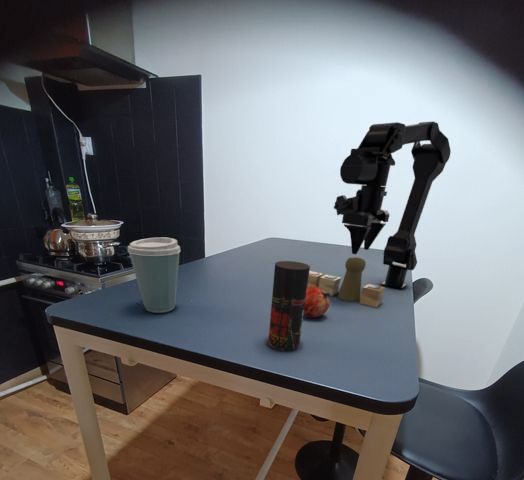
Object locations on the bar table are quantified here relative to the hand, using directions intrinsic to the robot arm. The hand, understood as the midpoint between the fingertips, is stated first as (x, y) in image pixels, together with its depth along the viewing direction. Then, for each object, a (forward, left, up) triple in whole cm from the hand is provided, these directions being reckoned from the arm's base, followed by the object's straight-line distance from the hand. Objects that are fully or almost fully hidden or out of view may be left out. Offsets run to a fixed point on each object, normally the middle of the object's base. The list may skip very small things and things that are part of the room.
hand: (360, 251), depth 84 cm
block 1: (+2, -12, -13) cm, 17 cm away
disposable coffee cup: (+43, -30, -13) cm, 54 cm away
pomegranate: (+22, -2, -13) cm, 25 cm away
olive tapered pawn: (+2, 0, -13) cm, 13 cm away
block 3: (+2, +6, -13) cm, 14 cm away
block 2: (+2, -6, -12) cm, 14 cm away
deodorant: (+39, +1, -13) cm, 41 cm away
